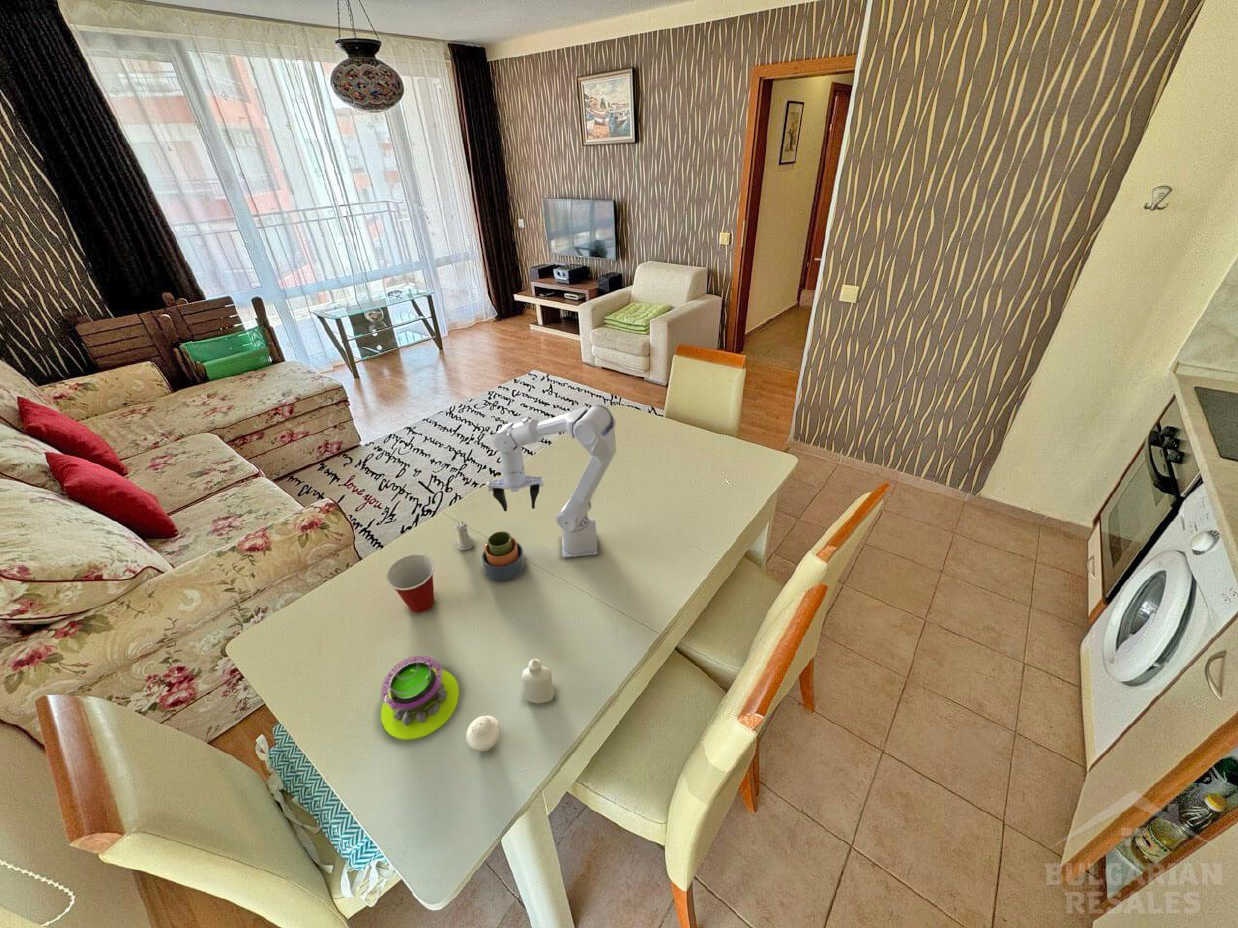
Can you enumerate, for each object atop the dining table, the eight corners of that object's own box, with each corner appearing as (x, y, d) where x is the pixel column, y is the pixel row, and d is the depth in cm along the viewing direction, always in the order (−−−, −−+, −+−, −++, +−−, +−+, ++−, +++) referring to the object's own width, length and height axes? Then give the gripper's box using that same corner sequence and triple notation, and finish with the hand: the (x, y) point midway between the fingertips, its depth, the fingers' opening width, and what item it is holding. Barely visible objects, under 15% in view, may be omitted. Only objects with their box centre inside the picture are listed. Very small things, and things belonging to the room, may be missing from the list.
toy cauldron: (428, 656, 107) (416, 624, 101) (474, 692, 100) (464, 659, 94) (365, 711, 97) (347, 678, 91) (411, 755, 90) (396, 723, 84)
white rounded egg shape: (462, 752, 90) (455, 732, 86) (481, 721, 95) (475, 701, 91) (491, 764, 88) (485, 744, 84) (509, 732, 93) (504, 712, 89)
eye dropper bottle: (535, 681, 102) (528, 645, 95) (557, 692, 100) (552, 656, 93) (522, 698, 99) (514, 662, 92) (545, 711, 97) (538, 675, 90)
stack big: (525, 551, 135) (523, 538, 132) (524, 579, 126) (521, 565, 123) (487, 555, 134) (484, 541, 131) (483, 583, 125) (479, 569, 122)
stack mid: (521, 554, 134) (517, 534, 130) (520, 576, 127) (516, 555, 123) (490, 557, 133) (486, 537, 129) (488, 579, 126) (483, 558, 122)
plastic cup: (401, 629, 114) (387, 593, 107) (396, 597, 122) (382, 562, 115) (448, 611, 118) (438, 576, 111) (440, 581, 126) (430, 547, 119)
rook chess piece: (469, 552, 135) (464, 530, 130) (454, 550, 136) (449, 528, 131) (476, 541, 138) (471, 519, 134) (462, 539, 139) (456, 517, 135)
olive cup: (514, 547, 130) (511, 530, 127) (513, 562, 126) (510, 545, 122) (492, 549, 130) (488, 532, 126) (490, 565, 125) (486, 547, 122)
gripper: (483, 478, 124) (492, 519, 132) (540, 473, 126) (545, 514, 133) (486, 463, 130) (494, 503, 138) (540, 459, 132) (545, 498, 139)
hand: (519, 507), depth 136 cm, fingers open, 7 cm apart
